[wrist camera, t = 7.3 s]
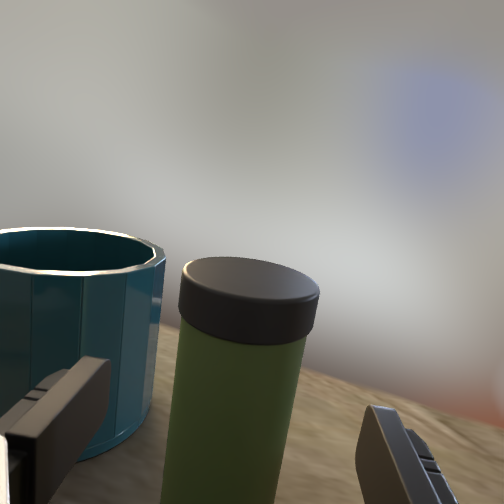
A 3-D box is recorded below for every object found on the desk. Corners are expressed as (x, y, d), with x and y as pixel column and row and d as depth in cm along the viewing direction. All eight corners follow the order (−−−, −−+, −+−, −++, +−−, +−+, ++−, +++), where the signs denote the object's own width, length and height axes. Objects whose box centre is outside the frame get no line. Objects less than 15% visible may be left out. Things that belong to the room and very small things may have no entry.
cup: (146, 359, 25) (158, 234, 23) (155, 456, 17) (174, 279, 15) (-3, 363, 22) (-4, 221, 20) (-74, 482, 14) (-86, 269, 12)
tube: (234, 559, 13) (287, 259, 11) (265, 677, 10) (347, 302, 8) (140, 580, 12) (174, 252, 10) (144, 719, 9) (195, 298, 7)
